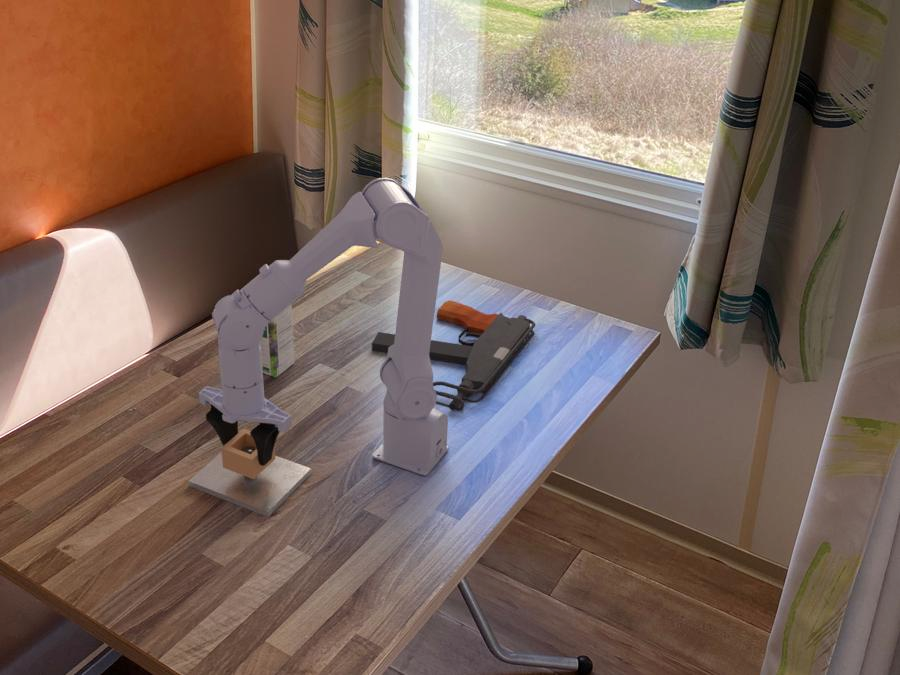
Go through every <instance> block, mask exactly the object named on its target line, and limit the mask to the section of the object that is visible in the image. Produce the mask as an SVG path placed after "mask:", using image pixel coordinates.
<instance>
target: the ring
mask: <svg viewBox="0 0 900 675" xmlns="http://www.w3.org/2000/svg"><path fill="white" fill-rule="evenodd" d="M251 431H252V430H249V429H247V428H243V429H241V430H240V431H238V434H237V435H236V436H234V437H233V438H232V439H231V440H230V441H229V442H227V443H226V444H225V445H224V446H221V448H220V449H221V451H220V453H221V452H222V462H223V468H225V469H228V470H230V471H233V472H236V473H238V474H241V475H243V476H246V477H248V478H251V479H255V478H256V477H257V476H258V475H259V474H260V473H261V472H262V471H263V470H264V469H265V468H266V467H267V466H268V465H270V464H271V463H272V462H273V461H274V460H275V456H276V446H275V445H276V444H275V445H274V449H273V453H272V459H271V460H270V461H269V462H268V463H267V464H266V465H264V466H262V465H260V464H259V461H258V454H257V448H256V444H255V441H254V439H253V437H252V436H251V434H250V432H251ZM246 446H252V447H254V448H255V451H254V452H253V453H252V454H249V453H246V452H243V451H241V450H242V449H243V448H244V447H246Z"/></svg>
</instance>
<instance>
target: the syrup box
mask: <svg viewBox="0 0 900 675" xmlns="http://www.w3.org/2000/svg"><path fill="white" fill-rule="evenodd" d="M292 304H293V303H292ZM292 304H291V305H289V306H288V307H287V308H286V309H285V310H283V311H282V312H281V313H280V314H279V315H277V316H276V317H275V318H274V319H272V320H271V321H270V322H269V323H268V325H267V326H266V327H265V328H264V333H263V336H262V339H261V340H260V342H259V345H260V347H261V357H262V370H263V374H265V375H268V376H270V377H273V378H277V377H279V376H280V375H281V374H283V373H284V372H285V371H286V370H287V369H289V368H290V367H291V366H292V365H294V364H295V351H294V348H295V347H294V345H295V344H294V324H293V307H292V306H293V305H292Z"/></svg>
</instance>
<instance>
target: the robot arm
mask: <svg viewBox="0 0 900 675" xmlns="http://www.w3.org/2000/svg"><path fill="white" fill-rule="evenodd" d="M377 240H380V241H381V242H382V243H383V244H385V245H386V246H388V247H390V248H393V249H395V250H399V251H402V252H403V260H402V269H401V270H402V271H401V277H400V280H401V281H400V285H399V286H400V288H399V297H398V304H397V306H398V307H397V314H396V315H397V316H396V324H395V333H394V334H395V341H394V345H392V346H390V347H389V348H388V352H387V355H386V358H385V359H384V361H383V362H382V364H381V366H380V368H379V369H380V370H379V378H380V380H381V382H382V384H384V386H385V387H386V393H385V396H384V399H383V417H382V418H383V423H382V424H383V430H382V431H383V437H382V438H383V442H382V443H381V444H380V445H379V447H378V448H376V450H375V451H374V452H373V453H372V458H373V459H375V460H377V461H381V462H384V463H386V464H389V465H392V466H396V467H398V468H400V469H401V468H402V469H405V470H407V471H409V472H413V473H416V474H418V475H421V476H428V475H429V474H430V472H431V471H433V469H434V467H435V466H436V465H437V464H438V462H440V460H441V459H442V458H443V457H444V455H445V454H446V453H447V451H448V450H449V449H450V448H449V445H448V428H449V427H448V425H449V421H448V420H449V419H448V415H447V414H446V413H445V412H442V411H440V410H439V409H437V408H436V407H435V406H436V405H437V404H436V401H437V398H438V397H437V396H438V395H436V392H435V390H436V389H435V387H433V382H434V372H433V367H432V363H431V359H430V357H429V351H430V343H431V340H432V334H433V329H434V320H435V319H434V318H435V312H436V311H435V310H436V303H437V296H438V288H439V282H440V281H439V280H440V273H441V272H440V271H441V266H442V258H443V252H444V251H443V250H444V245H443V244H444V243H443V240H442V239H441V236H440V235H439V234H438V232H437V230H436V229H435V227H434V225H433V223H432V222H431V218H430V217H429V215H428V214H427V213H426V212H425V211H424V209H423V207H422V206H421V205H420V204H419V202H418V201H417V200H416V199H415V197H414V196H413V194H412V193H411V192H410V191H409V190H408V189H407V188H406V187H404V186H403V185H402V184H400V183H399V182H398V181H397V180H395V179H393V178H391V177H390V178H389V177H377V178H374V179H373V180H371V181H370V182H368V183H367V184H366V185H365V186H364V187H363V189H362V191H360V190H359V191H358V192H356V193H354V194H353V195H352V196H351V197H350V198H349V200H348V201H347V203H346V204H345V206H344V207H343V209H341V211H340V212H339V213H338V214H337V215H336V216H334V218H332V219H331V221H329V223H328V224H326V225H325V226H324V227H323V228H322V229H321V230H320V231H319V232H318V233H316V235H315V236H314V237H313V238H312V239H310V241H308V242H307V243H306V244H305V245H304V246H303V247H302V248H301V249H300V250H299V251H297V253H296V254H294V256H292V257H291V258H290V259H289V260H288V259H277V260H274V261H273V262H272V263H271V264H269V265H268V264H267V263H265V264H263V265H262V266H261V267H260V268H259V270H258V271H259V274H258V275H257V276H255V277H253V279H251V280H250V281H249V282H248V283H247V284H246V285H244V286H243V287H242V288H241V289H240V290H239V289H236V290H235V291H234V292H232V294H228V295H225V296H224V297H222V298H220V299H219V300H218V301H217V302H216V304H215V306H214V309H213V312H211V317H212V320H213V322H214V324H215V329H216V330H217V336H218V339H217V345H218V354H217V355H218V362H219V372H220V373H219V374H220V384H221V388H218V387H217V388H216V387H211V386H209V385H207V386H205V387H204V388H203V389H201V390H200V391H199V392H198V399H199V404H200V405H203V406H207V405H208V404H210V409H209V411H208V412H206V414H205V419H206V421H207V422H208V423H209V424H210V425H211V426H212V428H213V429H214V431H215V432H216V434H217V435H218V437H219V439H220V442H221V444H222V445H223V446H224V445H225V444H226V443H227V442H229V441H230V440H231V439H232V438H233V437H234V436H236V435H237V434H238V433H239V426H238V425H239V421H242V422H251V423H259V424H257V426H255V427H254V428H252V430H250V431H251V432H250V434H251V436H252V437H253V439H254V441H255V444H256V448H257V454H258V461H259V464H260V465H262V466H264V465H266V464H267V463H268V462H269V461H270V460H271V459H272V453H273V449H274V445H276V441H277V439H278V437H279V434H280V433H282V434H285V432H287V431H289V429H290V428H291V427H292V426H293V424H292V423H293V422H292V414H291V413H287V412H285V411H284V410H282V409H280V408H279V407H278V406H276V405H275V404H274V403H273V402H272V401H270V400H268V398H266V397H265V388H264V387H265V386H264V373H263V370H262V357H261V347H260V345H259V342H260V340H261V339H262V336H263V333H264V328H265V327H266V326H267V325H268V323H269V322H270V321H271V320H272V319H274V318H275V317H276V316H277V315H279V314H280V313H281V312H282V311H283V310H285V309H286V308H287V307H288V306H289V305H291V304H293V303H294V302H296V301H297V300H298V299H299V298H300V297H301V296H303V295H304V294H305V291H306V290H305V288H306V285H307V284H306V282H307V280H309V279H310V278H311V277H313V276H314V275H315V274H316V273H318V272H319V271H321V270H322V269H323V268H325V267H326V266H327V265H329V264H330V263H332V262H333V261H334V260H335V259H337V258H338V257H340V256H342V255H343V254H344V253H345V252H346V251H348V250H349V249H350V248H352V247H354V246H357V247H363V248H372V249H378V248H379V244H378V242H377ZM223 446H222V447H223Z"/></svg>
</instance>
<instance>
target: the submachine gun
mask: <svg viewBox="0 0 900 675" xmlns="http://www.w3.org/2000/svg"><path fill="white" fill-rule="evenodd" d="M436 319H437V320H441V321H444V322H449V323H452V324H456V325H460V326H462V327H463V328H464V329H463V331H462V332H460V334H459V335H458V338H457V339H458V343H459V344H458V343H454V342H447V341H439V340H434V339H433V340H432V339H431V343H430V351H429V357H430V360H435V361H442V362H448V363H453V364H461V365H466V366H465V368H466V369H465V374H464V375H462V377H461V381H460V382H461V383H459V385H456V384H453V383H451V382H450V383H449V382H446V381H442V380H441V381H433V388H435V387H436V386H443V387H447V388H450V389H454V390H457V394H456V395H455V394H453V393H452V394H451V393H448V392H444V391H439V390H436V389H434V390H435V392H436V395H437V396H438V397H439V396H440V397H442V398H447V399H450V400H451V402H450V403H449V404H448V403H444V402H441V401H437V400H436V404H435V405H441V406H443V407H446V408H449V409H450V410H452V411H454V410H456V411H463V410H464V408H465V402H467V403H474V404H475V403H478V402H481V401H482V400H484V398H485V397H486V395H488V393H489V392H490V391H491V390H492V388H494V386H495V384H496V383H497V382H498V381H499V379H500V378H501V377H502V376H503V374H504V373H505V372H506V371H507V369H508V368H509V367H510V365H511V364H512V363H513V362H514V361H515V360H516V358H517V357H518V356H519V354H520V353H521V352H522V351H523V349H524V348H525V346H527V344H529V342H530V341H531V339H532V338H533V337H534V335H535V330H533V329H534V328H535V327H536V323H535V321H533V320H532V319H529V318H527V316H526V315H522V314H520V315H519V316H517V317H514V316H513V317H507V316H506V315H504V314H503V312H499V313H491V314H490V313H487V314H486V313H484V312H481V311H479V310H477V309H475V308H473V307H472V306H469V305H466V304H463V303H460V302H457V301H454V300H449V299H448V300H446V301H444V303H442V305H441V306H439V308H438V310H437V312H436ZM529 334H530V335H529ZM464 335H465V337H476V338H477V339H476V341H474V342H466V341H464V340H462V337H463V336H464ZM394 341H395V333H388V332H380V331H378V332H377V334H376V336H374V339H373V340H372V342H371V351H377V352H384V353H388V348H389V347H390V346H392V345H394ZM479 393H482V395H481V396H480V397H479V398H477V399H470V398H471V397H472V396H473V394H475V395H477V394H479ZM458 406H459V407H458Z"/></svg>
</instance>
